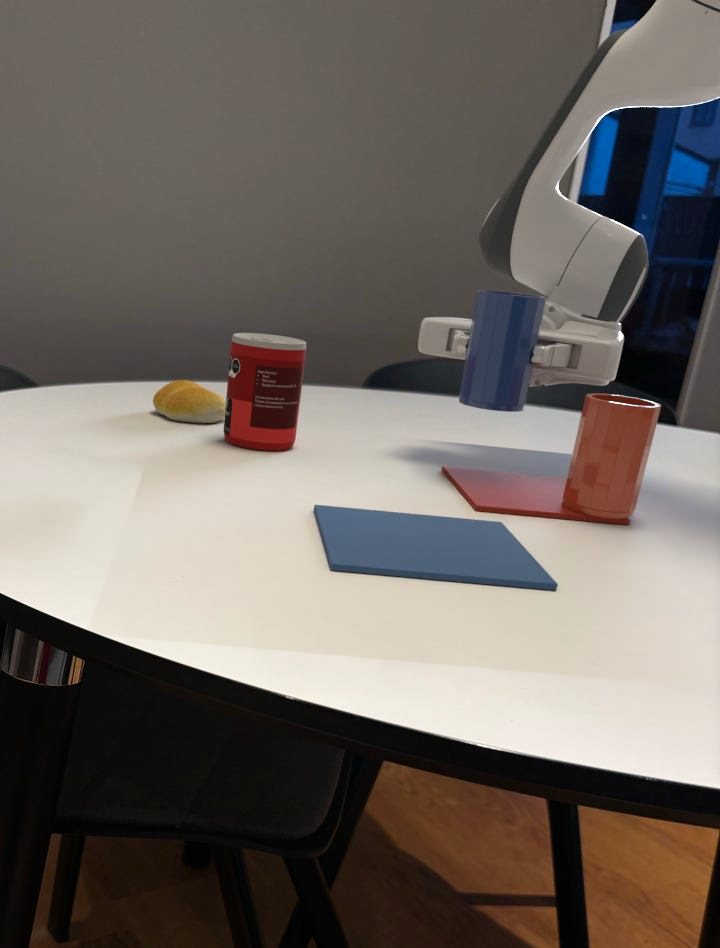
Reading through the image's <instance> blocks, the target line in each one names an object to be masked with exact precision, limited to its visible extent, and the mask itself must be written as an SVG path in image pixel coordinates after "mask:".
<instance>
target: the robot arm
mask: <svg viewBox="0 0 720 948" xmlns="http://www.w3.org/2000/svg"><path fill="white" fill-rule="evenodd" d="M719 98H720V0H655V2H654V3H653V5H652V6H651V8H650V9H649V10H648V11H647V12H646V13H645V14H644V16H642V17H641V18H640V20H638V21H637V22H636V23H635V24H633V26H631V27H629V28H624V29H618V30H615V31H613V32H612V33H611V34H609V35H608V36H607V37H606V38H605V40H603V42H602V43H601V44H600V45H599V46H598V47H597V48H596V49H595V51H594V52H593V54H592V55H591V56H590V57H589V58H588V60H587V61H586V63H585V64H584V66H583V67H582V68H581V70H580V72H579V73H578V75H577V76H576V78H575V79H574V81H573V83H572V84H571V86H570V87H569V89H568V90H567V91H566V93H565V95H564V97H563V98H562V100H561V101H560V102H559V105H557V108H556V109H555V111H554V112H553V114H552V116H551V117H550V119H549V121H548V123H547V124H546V126H545V127H544V129H543V131H542V132H541V134H540V135H539V137H538V138H537V139H536V142H535V144H534V145H533V147H532V149H531V150H530V152H529V154H528V155H527V157H526V158H525V160H524V161H523V163H522V165H521V167H520V168H519V169H518V171H517V172H516V174H515V176H514V178H512V180H511V181H510V182H509V184H508V186H507V187H506V189H505V190H504V191H503V193H502V194H501V195H500V196H499V198H498V199H497V201H496V202H495V203H494V205H492V207H491V209H490V211H489V212H488V213H487V216H486V217H485V219H484V222H483V223H482V226H481V230H480V232H479V236H478V244H479V248H480V252H481V255H482V258H483V260H484V263H485V265H486V268H487V269H488V271H489V272H490V273H492V274H496V275H498V276H500V277H503V278H504V279H505V278H506V279H507V280H510V281H512V282H515V283H520V284H522V285H524V286H526V287H528V288H530V289H531V290H534V291H536V292H538V293H540V294H542V295H543V296H544V297H547V300H546V305H545V310H544V315H543V320H542V325H541V330H540V336H539V341H538V345H535V346H534V349H533V354H534V356H533V357H532V359H531V364H533V365H534V366H533V371H532V376H531V382H530V387H529V388H532V387H538V386H543V385H544V386H545V387H546V386H547V387H548V386H553V385H560V384H561V385H562V384H567V385H581V386H582V385H583V386H599V387H604V386H608V385H609V383H610V382H613V381H615V379H616V377H617V373H618V370H619V365H620V361H621V356H622V351H623V347H624V342H625V336H624V334H623V333H622V326H623V325H622V322H623V321H624V319H625V318H626V317H627V315H628V314H629V313H630V312H631V310H632V308H633V306H634V305H635V303H636V301H637V299H638V297H639V295H640V293H641V291H642V289H643V287H644V285H645V282H646V280H647V277H648V274H649V267H650V263H649V252H648V246H647V242H646V239H645V238H644V237H645V236H644V235H643V234H642V233H639V232H638V231H635V230H634V229H632V228H630V227H628V226H626V225H624V224H622V223H620V222H618V221H615V220H614V219H611V218H609V217H607V216H604V215H601V214H599V213H597V212H595V211H593V210H591V209H589V208H587V207H584V206H583V205H582V204H581V205H580V204H578V203H576V202H575V201H572V200H570V199H568V198H567V197H565V196H564V195H562V193H561V192H560V190H559V183H560V181H561V180H562V178H563V176H564V175H565V174H566V172H567V170H568V169H569V167H570V166H571V164H572V163H573V162H574V160H575V158H576V157H577V155H578V153H579V152H580V151H581V149H582V147H584V144H585V143H586V141H587V140H588V139H589V136H590V135H591V133H592V132H593V131H594V129H595V127H596V126H597V125H598V123H599V122H600V121H601V119H602V118H603V117H604V116H605V115H607V114H609V113H610V112H613V111H616V110H619V109H626V108H640V107H641V108H642V107H643V108H646V107H647V108H653V107H654V108H678V107H688V106H694V105H700V104H704V103H708V102H711V101H715V100H717V99H719ZM471 323H472V318H465V317H464V318H463V317H455V316H454V317H453V316H429V317H424V318H423V319H422V320H421V323H420V328H419V333H418V341H417V349H418V352H419V353H421V354H424V355H430V356H436V357H442V358H443V357H444V358H449V359H458V360H464V361H465V358H466V353H467V347H468V341H469V335H470V329H471Z"/></svg>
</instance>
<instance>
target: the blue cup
mask: <svg viewBox="0 0 720 948" xmlns="http://www.w3.org/2000/svg"><path fill="white" fill-rule="evenodd" d="M547 299H548V297H547V296H544V295H543V296H542V295H536V294H529V293H520V292H511V291H501V290H489V289H477V290H476V293H475V301H474V307H473V311H472V318H471V319H472V323H471V329H470V335H469V341H468V347H467V353H466V358H465V360H464V364H463V370H462V377H461V382H460V389H459V394H458V395H459V396H458V397H459V398H458V402H459V403H460V404H462V405H464V406H468V407H471V408H475V409H482V410H487V411H496V412H509V413H511V412H512V413H514V412H515V413H517V412H524V411H525V410H526V405H527V401H528V397H529V393H530V391H529V390H530V388H531V387H530V382H531V376H532V371H533V366H534V365H533V364H531V359H532V357H533V356H534V354H533V349H534V346H535V345H538V341H539V336H540V330H541V325H542V320H543V315H544V310H545V305H546V300H547Z"/></svg>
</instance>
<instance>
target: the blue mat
mask: <svg viewBox="0 0 720 948" xmlns="http://www.w3.org/2000/svg"><path fill="white" fill-rule="evenodd" d="M313 512H314V515H315V519H316V522H317V526H318V529H319V533H320V536H321V539H322V544H323V547H324V551H325V553H326V557H327V560H328V563H329V567H330V570H331V571H334V572H344V573H345V572H346V573H356V574H357V573H358V574H369V575H380V576H389V577H391V576H392V577H402V578H403V577H404V578H413V579H424V580H435V581H436V580H437V581H447V582H456V583H457V582H459V583H469V584H481V585H491V586H501V587H502V586H503V587H512V588H524V589H535V590H545V591H546V590H547V591H557V589H558V583H557V581H555V579H554V578H553V577H552V576H551V575H550V574H549V573H548V572H547V570H545V568H544V567H543V566H542V565H541V564H540V563H539V562H538V561H537V560H536V558H535V557H534V556H533V555H532V554H531V553H530V552H529V551H528V550H527V548H526V547H525V546H524V545H523V544H522V543H521V542H520V541H519V540H518V538H516V536H515V535H514V534H513V533H512V532H511V531H510V530H509V529H508V527H506V525H505V524H504V523H503V522H502V521H495V520H484V519H483V520H482V519H475V518H474V519H473V518H465V517H464V518H463V517H452V516H451V517H450V516H443V515H430V514H429V515H428V514H421V513H409V512H399V511H387V510H377V509H366V508H356V507H354V508H353V507H346V506H345V507H343V506H335V505H334V506H333V505H322V504H314V506H313Z"/></svg>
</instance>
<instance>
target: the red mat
mask: <svg viewBox="0 0 720 948" xmlns="http://www.w3.org/2000/svg"><path fill="white" fill-rule="evenodd" d="M441 472H442V473H443V474H444V475H445V476H446V477H447V479H448V480H449V481H450V482H451V483H452V484H453V486H454V487H455V488H456V489H457V490H458V492H459V493H460V494H461V496H463V497H464V499H465V500H466V502H467V503H469V504H470V505H471V507H472V508H473V509H474V511H476V512H485V513H496V514H507V515H517V516H528V517H537V518H538V517H539V518H550V519H557V520H558V519H560V520H570V521H580V522H581V521H582V522H591V523H602V524H612V525H624V526H629V525H630V522H631V519H630V518H625V519H612V518H603V517H596V516H591V515H586V514H582V513H579V512H576V511H573V510H570V509H568V508H566V507H565V506H563V504H562V501H563V495H564V490H565V486H566V481H567V477H563V476H552V475H543V474H532V473H531V474H530V473H521V472H520V473H519V472H512V471H502V470H501V471H499V470H491V469H490V470H489V469H478V468H469V467H457V466H447V465H446V466H445V465H442V466H441Z"/></svg>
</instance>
